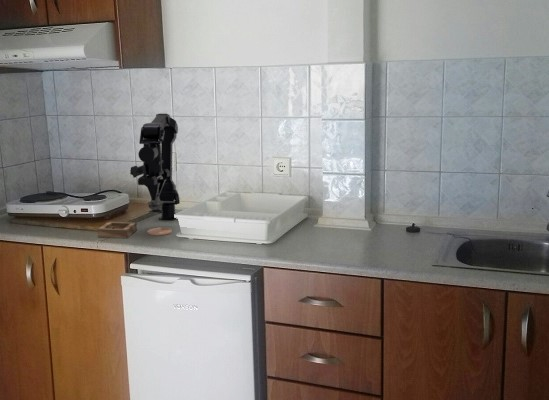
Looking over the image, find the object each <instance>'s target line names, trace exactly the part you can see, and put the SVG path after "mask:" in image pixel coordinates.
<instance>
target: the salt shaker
mask: <svg viewBox="0 0 549 400" xmlns="http://www.w3.org/2000/svg"><path fill="white" fill-rule="evenodd" d="M159 194H160V192H159V189H158V192H157V196H156V199H155V200H152V199H151V198H150V201H147V205H148V207H149V209H150V210H149V211H148V213H149V214H151V215H158V214H161V213H163V211H162V210H161V208H162V206H163V202H161V201H160V199H159Z"/></svg>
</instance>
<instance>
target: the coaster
mask: <svg viewBox="0 0 549 400" xmlns="http://www.w3.org/2000/svg"><path fill="white" fill-rule="evenodd" d="M171 233H173V232H172V229H171V228H169V227H154V228H149V229H148V230H147V235H151V236H165V235H166V236H167V235H169V234H171Z"/></svg>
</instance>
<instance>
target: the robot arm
mask: <svg viewBox="0 0 549 400" xmlns="http://www.w3.org/2000/svg"><path fill="white" fill-rule="evenodd" d="M178 132H179V126H178V123H177V121H176V120H175V119H174V118H172V117H171V115H170V114H169V113H156V115H155V117H154V118H153V120H152V121H151V122H147V123H146V122H145V123H144V124H142V127H141V128H140V135H139V141H138V142H139V144H140V145H143V147H141V148H140V149H139V151H138V158H139V160H140V162H141V161H142V162H143V163H142V165H140V166H137V165H134V166H131V167H130V170H129V171H130V172H129V174H130V176H131V175H132V177H133V179H134V178H137V177H138V176H139V178H138V179H137V185H138V186H145V188H146V189H147V190H148V193H149V195H150V196H149V197H150V200H151V199H152V200H155V199H156V196H157V192H158V189H159V192H160V194H159V199H160V201H161V202H163V206H162V208H161V209H160V210H162V211H163V213H160V214H161V216H160V217H158V220H163V221H164V220H170V221H174V220H176V218H174V214H175V215H176V205H180V196H179V192H178V190H177V186H176V184H175V182H174V181H173V144H174V142H175V141H176V139H177V134H178Z"/></svg>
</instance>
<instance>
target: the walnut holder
mask: <svg viewBox="0 0 549 400" xmlns="http://www.w3.org/2000/svg"><path fill="white" fill-rule="evenodd" d="M137 224H138V223H137V222H131V221H130V222H129V221H107V222H106V223H105V224H103V225H102V226H100V227H99V228H97V229H96V230H97V237H98V238H110V239H111V238H112V239H113V238H115V239H128V237H130V236H131V235H132V234H134V233H135V232H137V229H138V226H137ZM111 226H113V227H114V229H112V228H111Z"/></svg>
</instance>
